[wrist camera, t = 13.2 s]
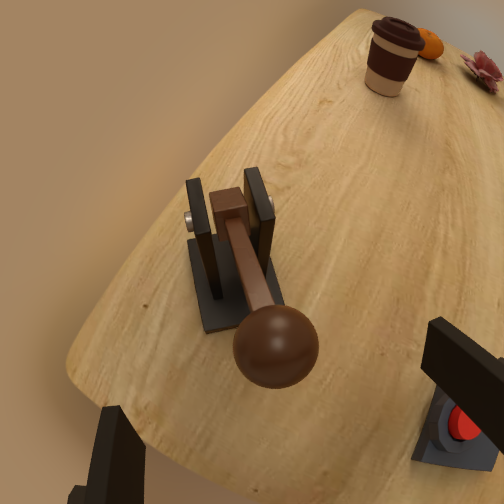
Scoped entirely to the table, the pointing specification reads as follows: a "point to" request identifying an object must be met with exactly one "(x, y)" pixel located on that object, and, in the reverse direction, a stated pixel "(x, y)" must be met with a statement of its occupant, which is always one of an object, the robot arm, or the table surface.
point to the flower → (484, 69)
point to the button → (462, 425)
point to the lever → (262, 308)
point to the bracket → (228, 255)
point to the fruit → (431, 45)
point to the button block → (451, 441)
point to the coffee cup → (392, 55)
